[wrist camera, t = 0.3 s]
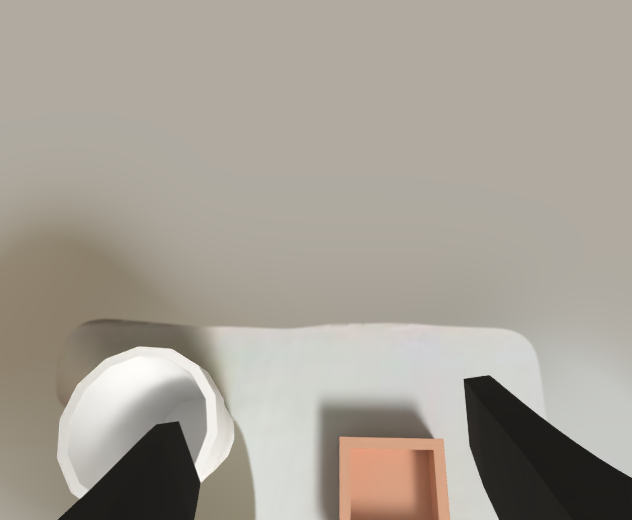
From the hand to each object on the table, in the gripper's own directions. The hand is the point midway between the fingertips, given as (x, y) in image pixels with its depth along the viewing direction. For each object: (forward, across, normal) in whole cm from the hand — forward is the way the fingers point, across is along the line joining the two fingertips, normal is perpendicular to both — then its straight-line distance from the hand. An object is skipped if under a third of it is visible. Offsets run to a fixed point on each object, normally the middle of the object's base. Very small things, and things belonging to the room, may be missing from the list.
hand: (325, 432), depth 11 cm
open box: (+19, -1, +23) cm, 29 cm away
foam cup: (+22, +14, +17) cm, 31 cm away
